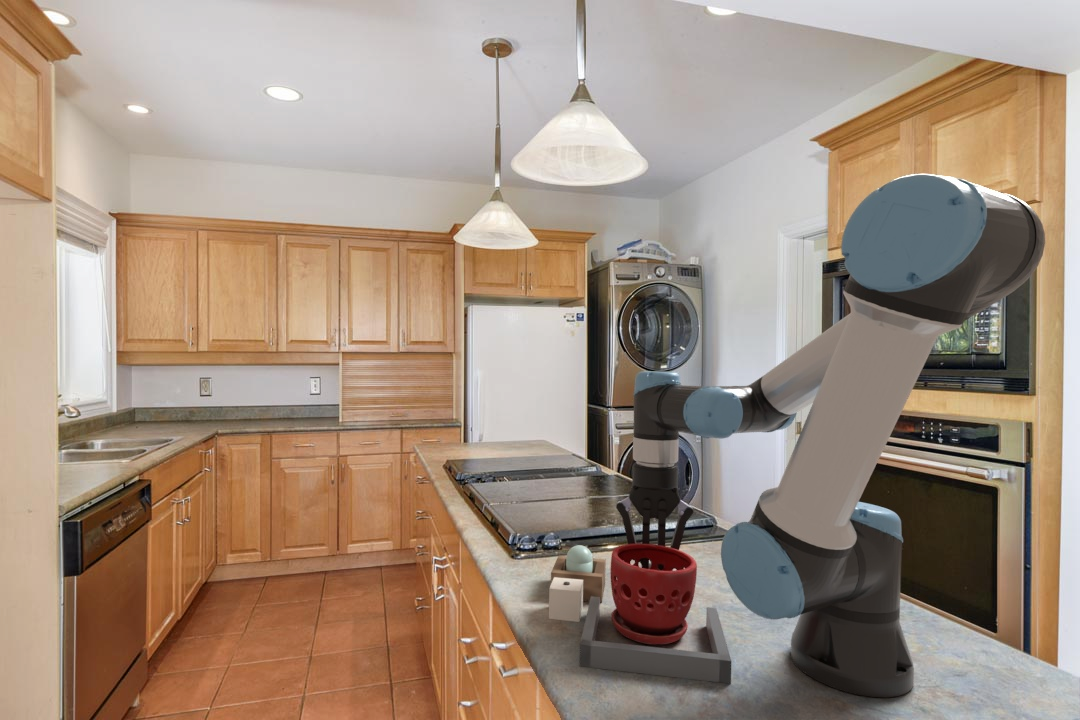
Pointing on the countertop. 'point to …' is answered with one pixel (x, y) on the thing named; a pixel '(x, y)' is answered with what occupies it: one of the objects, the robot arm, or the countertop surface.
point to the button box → (584, 577)
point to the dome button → (579, 559)
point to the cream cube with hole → (566, 599)
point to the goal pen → (657, 653)
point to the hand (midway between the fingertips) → (652, 602)
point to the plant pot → (652, 592)
